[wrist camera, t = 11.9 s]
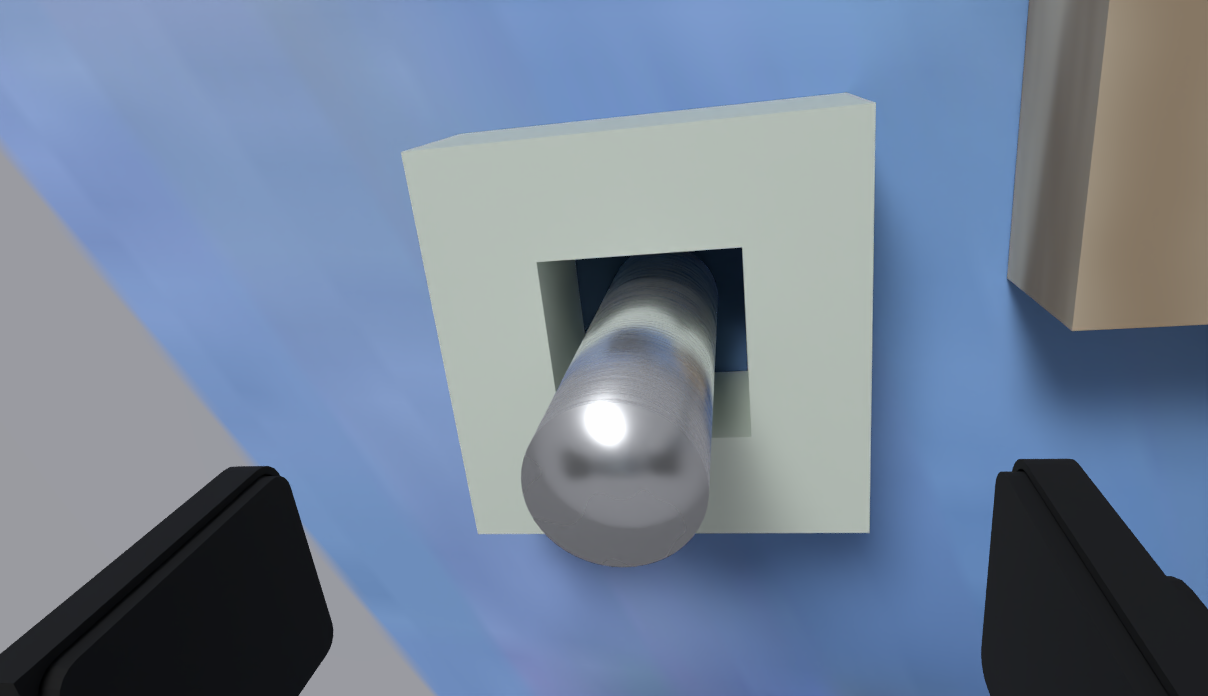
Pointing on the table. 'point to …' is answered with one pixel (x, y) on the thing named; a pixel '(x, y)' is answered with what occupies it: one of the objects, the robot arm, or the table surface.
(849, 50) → the table surface
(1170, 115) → the birch mount block
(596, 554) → the metal pin
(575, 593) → the table surface
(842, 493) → the sage socket block
